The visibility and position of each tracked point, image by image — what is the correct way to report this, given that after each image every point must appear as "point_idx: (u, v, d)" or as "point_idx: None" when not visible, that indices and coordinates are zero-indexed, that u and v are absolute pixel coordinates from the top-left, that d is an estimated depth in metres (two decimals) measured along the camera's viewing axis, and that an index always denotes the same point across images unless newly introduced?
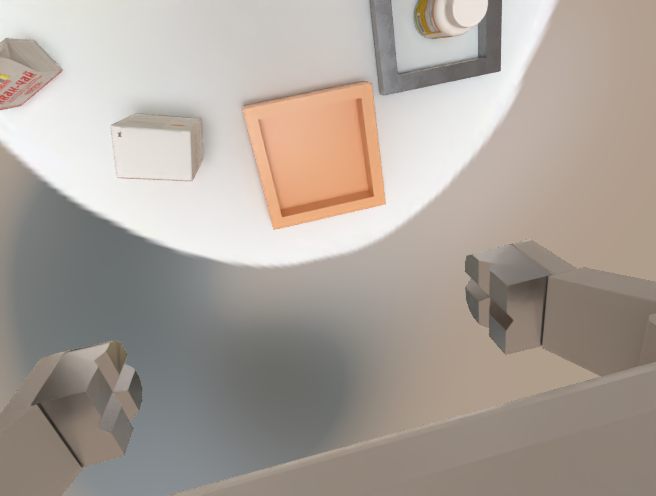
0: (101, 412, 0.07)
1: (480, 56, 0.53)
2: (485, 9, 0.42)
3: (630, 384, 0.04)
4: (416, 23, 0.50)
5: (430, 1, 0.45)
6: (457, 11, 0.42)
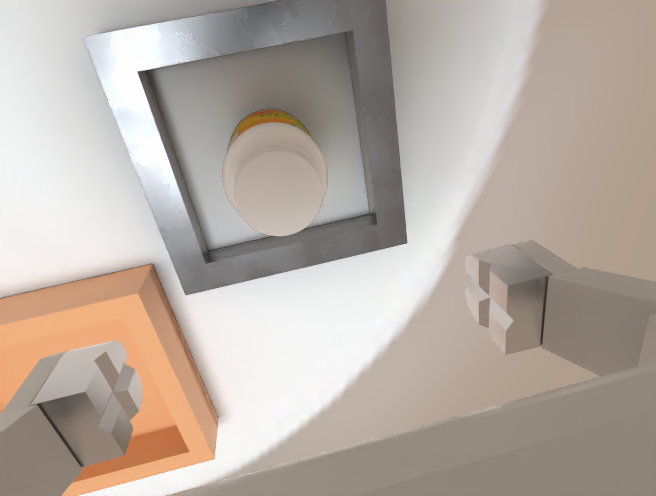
0: (101, 412, 0.07)
1: (371, 215, 0.29)
2: (318, 200, 0.18)
3: (630, 384, 0.04)
4: None
5: None
6: (248, 209, 0.18)
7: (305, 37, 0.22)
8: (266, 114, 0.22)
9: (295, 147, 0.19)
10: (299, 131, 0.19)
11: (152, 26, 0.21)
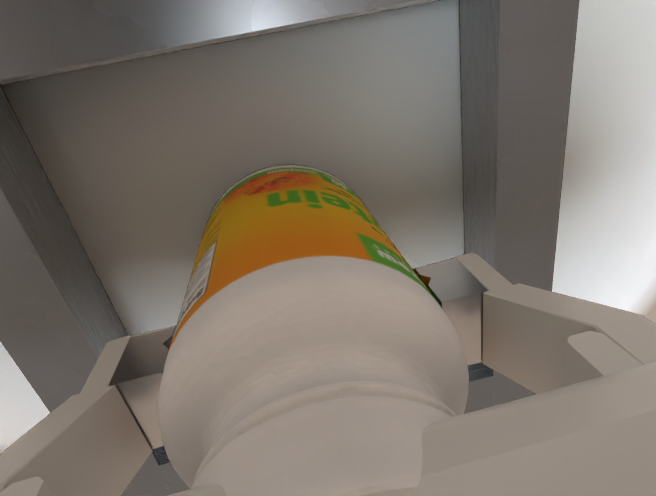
0: None
1: None
2: None
3: (629, 384, 0.04)
4: None
5: None
6: None
7: (384, 1, 0.09)
8: (285, 195, 0.09)
9: (395, 353, 0.06)
10: (402, 289, 0.06)
11: None
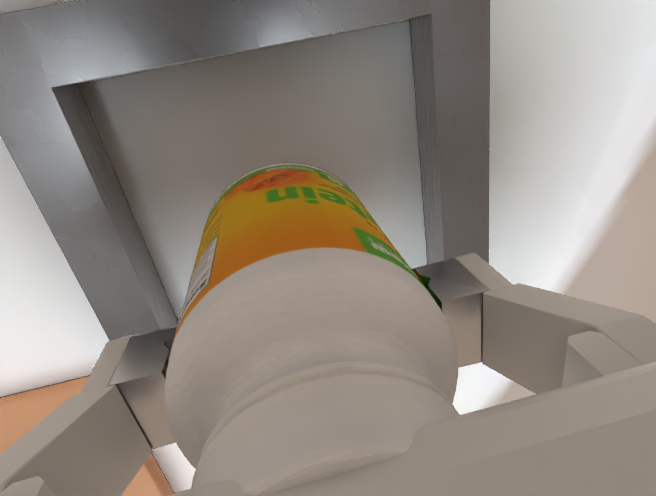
0: None
1: None
2: None
3: (629, 385, 0.04)
4: None
5: None
6: None
7: (349, 26, 0.13)
8: (284, 191, 0.09)
9: (388, 337, 0.06)
10: (394, 278, 0.06)
11: (74, 5, 0.11)
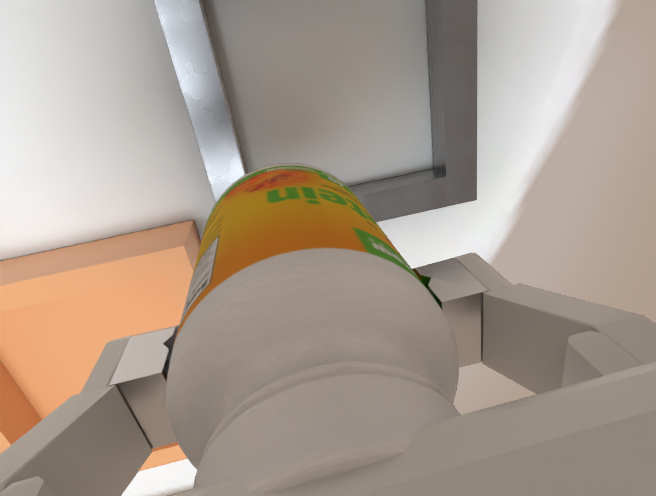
0: None
1: (436, 168, 0.26)
2: None
3: (629, 384, 0.04)
4: None
5: None
6: None
7: None
8: (285, 191, 0.09)
9: (389, 337, 0.06)
10: (395, 278, 0.06)
11: None
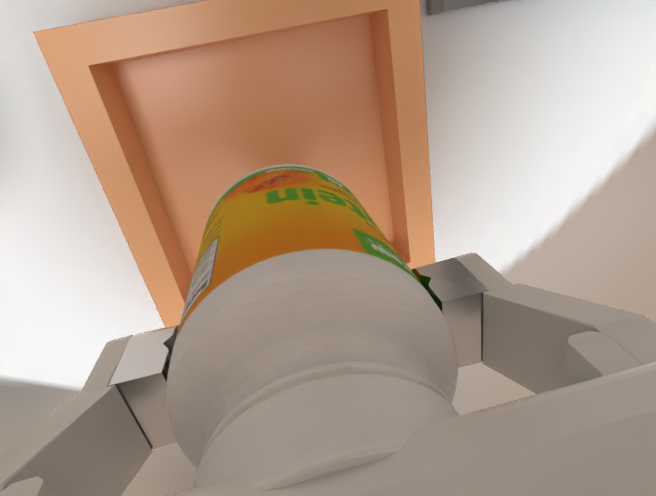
0: None
1: None
2: None
3: (628, 384, 0.04)
4: None
5: (184, 307, 0.08)
6: None
7: None
8: (284, 193, 0.09)
9: (388, 338, 0.06)
10: (394, 279, 0.06)
11: None
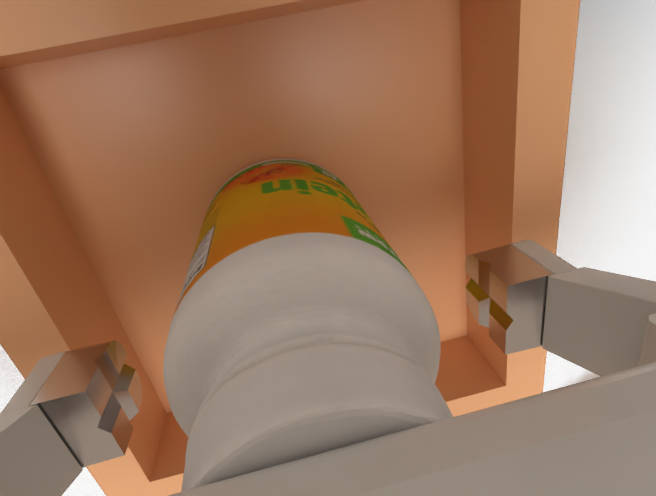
0: (101, 412, 0.07)
1: None
2: None
3: (628, 384, 0.04)
4: None
5: None
6: None
7: None
8: (278, 183, 0.10)
9: (370, 315, 0.06)
10: (377, 260, 0.07)
11: None
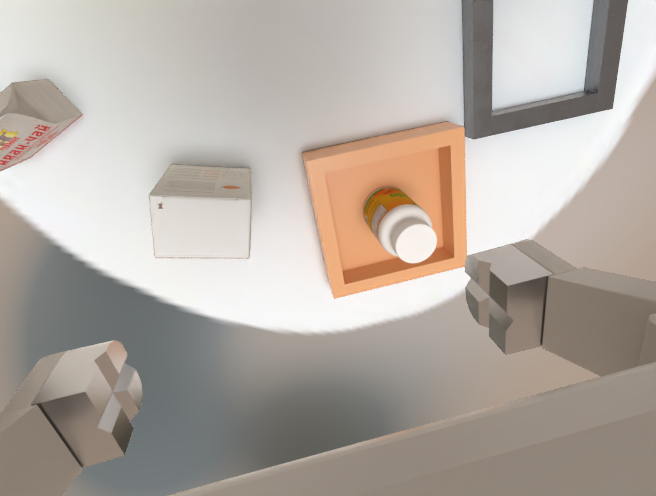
0: (101, 412, 0.07)
1: (587, 90, 0.44)
2: (434, 246, 0.37)
3: (629, 384, 0.04)
4: (365, 221, 0.44)
5: (375, 218, 0.40)
6: (401, 250, 0.36)
7: None
8: (393, 194, 0.41)
9: (419, 218, 0.38)
10: (420, 209, 0.38)
11: None
